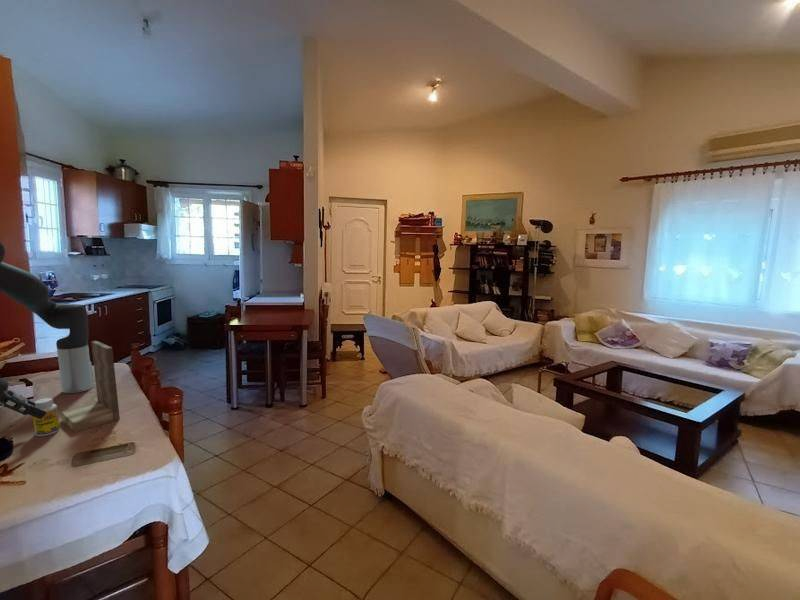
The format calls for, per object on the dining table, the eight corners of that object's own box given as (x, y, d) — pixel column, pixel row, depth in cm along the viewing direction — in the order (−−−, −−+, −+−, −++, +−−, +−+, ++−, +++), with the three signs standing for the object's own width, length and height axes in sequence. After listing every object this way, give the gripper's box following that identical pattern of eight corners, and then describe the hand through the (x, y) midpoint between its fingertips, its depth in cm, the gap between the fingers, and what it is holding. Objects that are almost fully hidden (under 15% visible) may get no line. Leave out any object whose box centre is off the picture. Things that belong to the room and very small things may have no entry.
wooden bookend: (61, 420, 129) (52, 348, 125) (104, 408, 138) (96, 340, 134) (75, 433, 120) (66, 356, 117) (119, 419, 129) (112, 347, 126)
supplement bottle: (33, 438, 117) (28, 405, 115) (37, 431, 121) (32, 399, 120) (58, 434, 120) (54, 401, 118) (61, 426, 124) (57, 395, 123)
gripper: (-4, 379, 105) (57, 406, 116) (-14, 368, 114) (43, 394, 124) (-30, 405, 102) (35, 430, 113) (-39, 392, 110) (23, 416, 121)
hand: (39, 411), depth 119 cm, fingers open, 8 cm apart
